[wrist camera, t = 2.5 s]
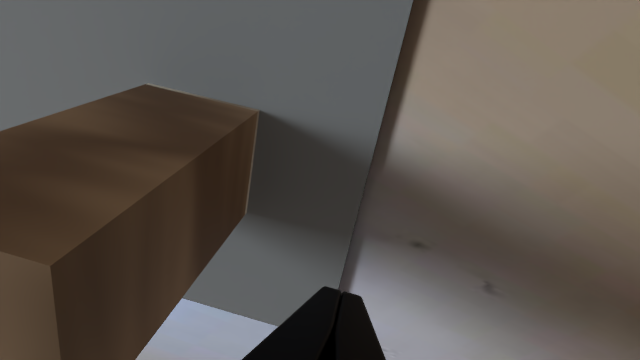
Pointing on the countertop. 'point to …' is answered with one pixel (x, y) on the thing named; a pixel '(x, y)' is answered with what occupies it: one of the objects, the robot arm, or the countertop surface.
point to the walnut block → (115, 217)
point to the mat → (242, 89)
